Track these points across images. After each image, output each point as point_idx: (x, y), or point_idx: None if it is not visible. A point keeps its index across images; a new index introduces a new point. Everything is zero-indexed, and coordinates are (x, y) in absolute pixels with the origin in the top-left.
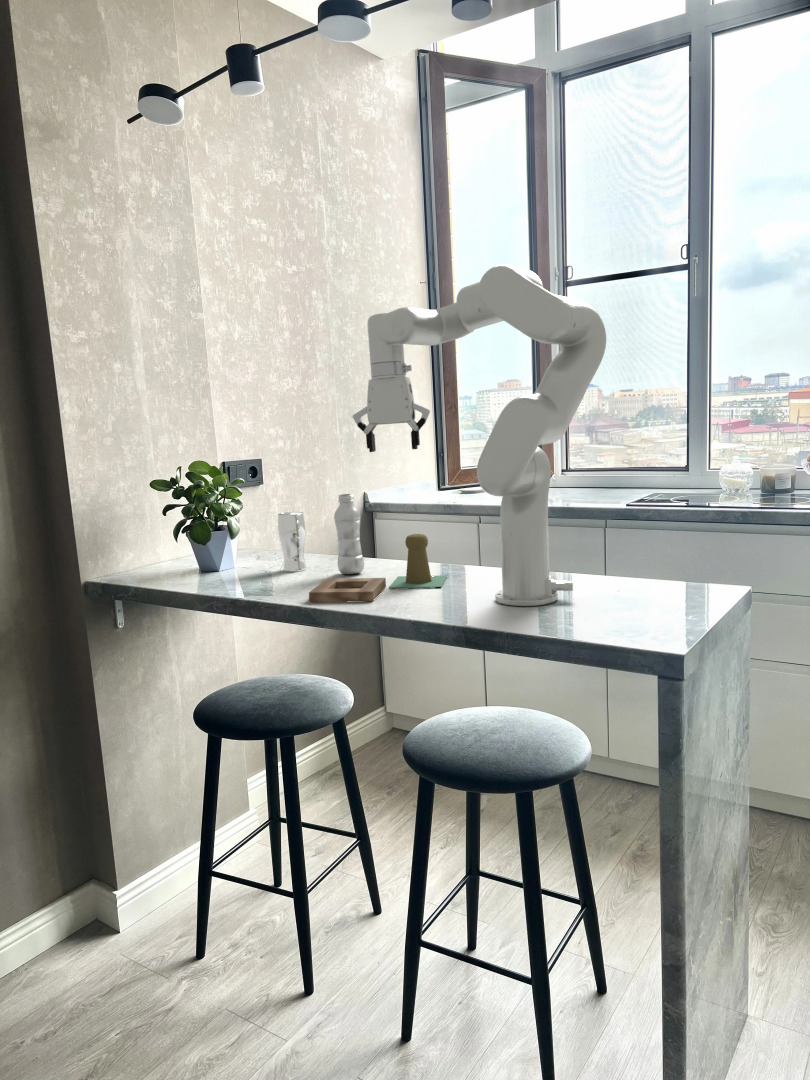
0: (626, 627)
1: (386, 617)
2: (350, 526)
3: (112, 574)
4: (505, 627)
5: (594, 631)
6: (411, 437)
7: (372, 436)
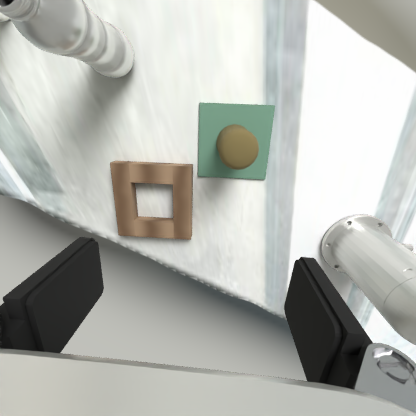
0: None
1: (215, 287)
2: (80, 53)
3: None
4: None
5: (378, 335)
6: (302, 360)
7: (54, 336)
